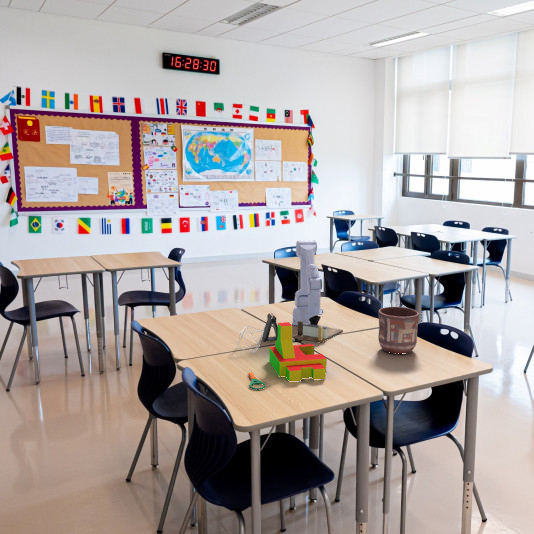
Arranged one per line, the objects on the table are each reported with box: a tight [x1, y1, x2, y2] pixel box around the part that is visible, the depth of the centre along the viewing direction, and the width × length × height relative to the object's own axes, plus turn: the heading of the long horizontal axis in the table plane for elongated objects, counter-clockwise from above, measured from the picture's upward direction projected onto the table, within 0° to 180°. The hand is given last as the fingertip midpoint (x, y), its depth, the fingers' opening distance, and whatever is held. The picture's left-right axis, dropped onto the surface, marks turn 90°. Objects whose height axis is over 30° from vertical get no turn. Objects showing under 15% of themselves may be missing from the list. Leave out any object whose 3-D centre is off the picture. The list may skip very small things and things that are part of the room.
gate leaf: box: [303, 323, 328, 339], centre depth 268 cm, size 12×2×5 cm, turn 61°
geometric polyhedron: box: [236, 325, 264, 354], centre depth 254 cm, size 12×11×9 cm
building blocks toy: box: [268, 321, 328, 382], centre depth 227 cm, size 19×25×18 cm
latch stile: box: [318, 325, 323, 341], centre depth 264 cm, size 2×1×6 cm
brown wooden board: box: [292, 321, 344, 344], centre depth 275 cm, size 15×22×8 cm
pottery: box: [377, 306, 420, 354], centre depth 251 cm, size 18×18×18 cm
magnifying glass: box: [247, 372, 267, 391], centre depth 215 cm, size 15×6×2 cm, turn 14°
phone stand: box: [260, 312, 278, 343], centre depth 268 cm, size 9×6×12 cm, turn 103°
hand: (313, 330), depth 270 cm, fingers closed, pressing on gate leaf
